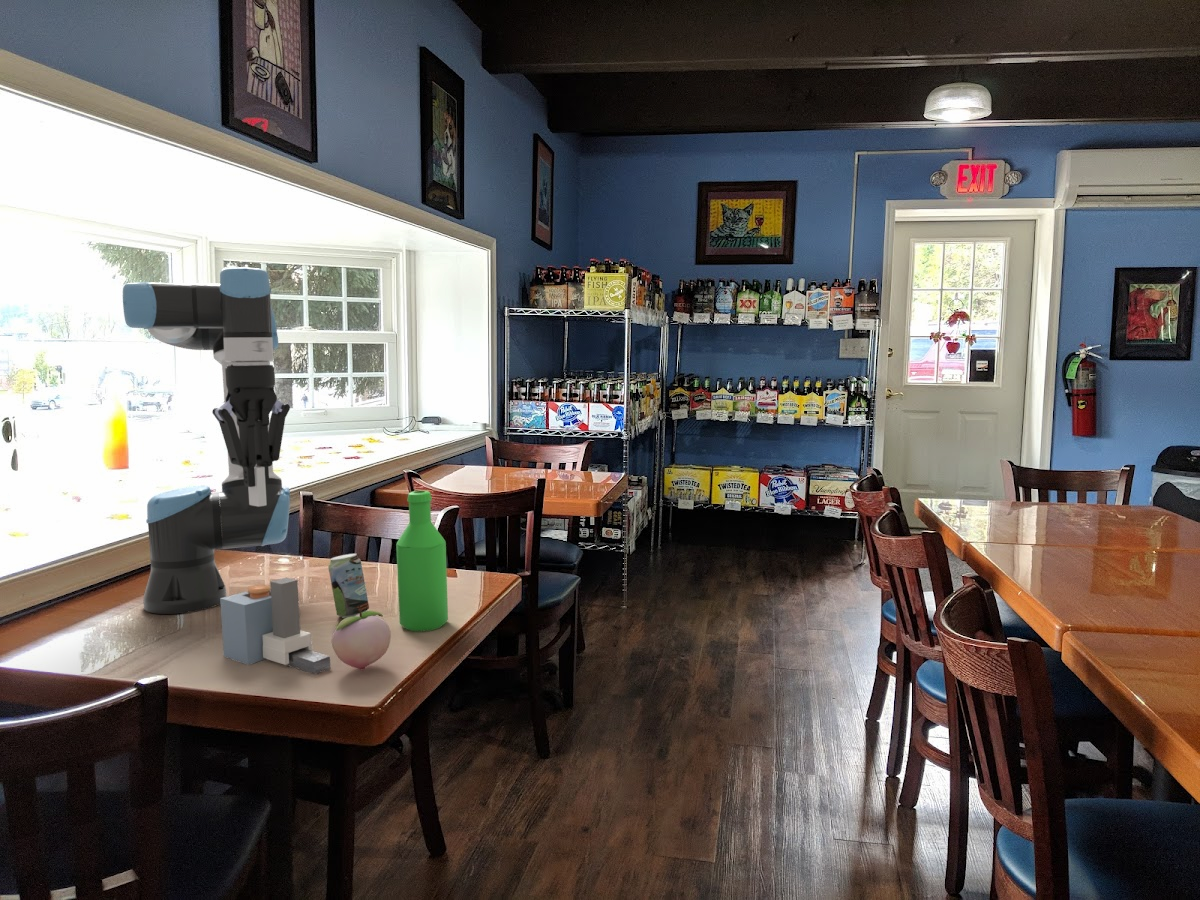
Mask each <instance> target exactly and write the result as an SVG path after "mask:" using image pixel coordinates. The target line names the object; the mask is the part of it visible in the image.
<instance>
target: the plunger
mask: <svg viewBox="0 0 1200 900" xmlns="http://www.w3.org/2000/svg"><path fill="white" fill-rule="evenodd" d="M247 591H248V593H250V598H253V599H258V598H262V597H266V596H269V591H271V586H270V584H257V585H256V584H255V585H251V586H248V588H247Z"/></svg>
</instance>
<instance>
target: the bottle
mask: <svg viewBox="0 0 1200 900" xmlns="http://www.w3.org/2000/svg"><path fill="white" fill-rule="evenodd" d="M432 500H433V498H432V495H431V492H430V491H428V490H414V491H410V492H408V495H407V502H408V514H409V516H408V517H409V518H408V519H409V523H408V524H407V526H406V528H405V529H404V530H403V532H402V534H401V536H400V537H399V539H398V540H397V542H396V567H397V569H396V570H397V573H396V574H397V591H398V593H397V594H398V616H399V625H400V626H402V627H403V628H404V629H405V630H408V631H411V632H428V631H434V630H436V629H440V628H441V627H443V626H444V625H445V624H446V623H447V621H448V620H449V611H448V610H449V608H448V607H449V606H448V578H447V577H448V574H447V573H448V572H447V546H446V545H447V543H446V540H445V539H444V537H443V536H442V534H441V533H440V532H439V530H438V529H437V528H436V526H435V524H433V522H432V510H431V509H432V508H431V502H432Z"/></svg>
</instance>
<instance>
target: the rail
mask: <svg viewBox="0 0 1200 900" xmlns="http://www.w3.org/2000/svg"><path fill="white" fill-rule="evenodd" d="M286 666H288V667H291V668H294V669H298V670H301V671H303V672H308V673H310V674H312V675H317V674H319V673H321V672H324V671H327V670H330V669H331V656H330V655H326V654H323V653H320V652H317V651H314V650H313V651H311V650H308V649H305V648H302V649H299V650H296V651H293V652H290V653H289V664H287V665H286Z"/></svg>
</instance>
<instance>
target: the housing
mask: <svg viewBox="0 0 1200 900" xmlns="http://www.w3.org/2000/svg"><path fill="white" fill-rule="evenodd" d="M226 596H227V597H223V598H220V604H219V605H220V616H221V617H220V618H221V630H222V631H221V634H222V645H223V647H222V648H223V649H222V650H223V657H224V658H227V659H230V660H233V661H236V662H239V663H242V664H245V665H247V666H249V665H252V664H255V663H259V662H261V661H264V660H267V659H266V658H263V636H262V635H264V634H268V633H271V632H273V621H272V604H271V591H269V596H266V597H262V598H258V599H253V598H250V593H248V590H247V591H243V592H240V593H236V594H232V595H226ZM298 599H299V597H298ZM299 600H300V599H299ZM299 618H300V615H299ZM300 619H301V618H300Z"/></svg>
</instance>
